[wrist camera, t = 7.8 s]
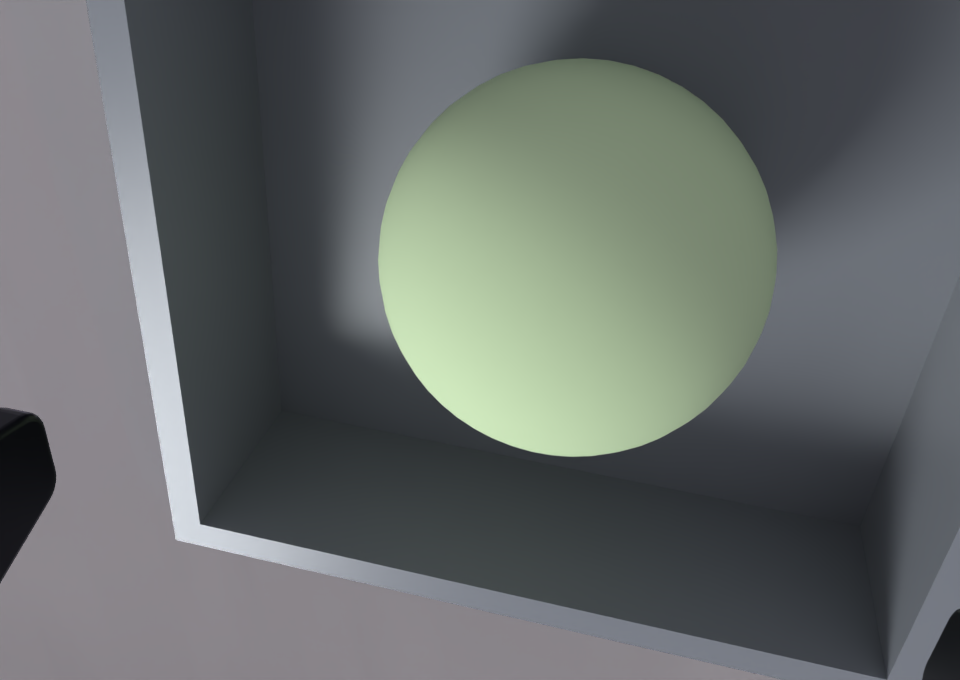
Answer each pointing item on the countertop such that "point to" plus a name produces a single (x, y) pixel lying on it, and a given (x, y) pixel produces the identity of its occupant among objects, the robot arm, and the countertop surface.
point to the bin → (517, 472)
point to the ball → (577, 257)
